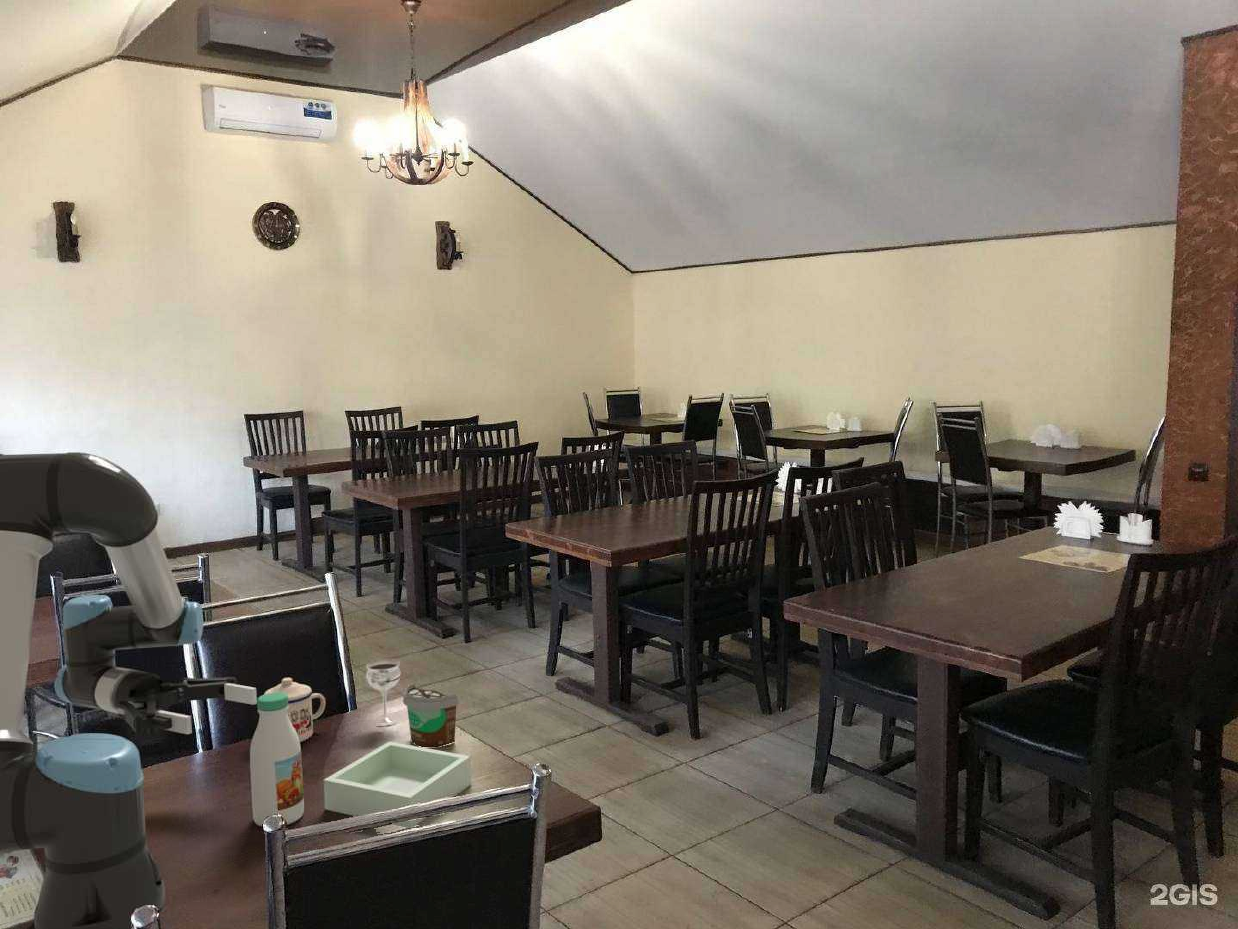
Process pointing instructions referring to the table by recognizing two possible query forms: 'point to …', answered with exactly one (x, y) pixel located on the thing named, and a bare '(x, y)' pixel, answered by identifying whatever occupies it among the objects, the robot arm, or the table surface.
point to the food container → (430, 716)
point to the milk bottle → (276, 762)
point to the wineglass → (383, 678)
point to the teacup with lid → (299, 706)
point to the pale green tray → (396, 780)
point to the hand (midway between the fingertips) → (223, 710)
